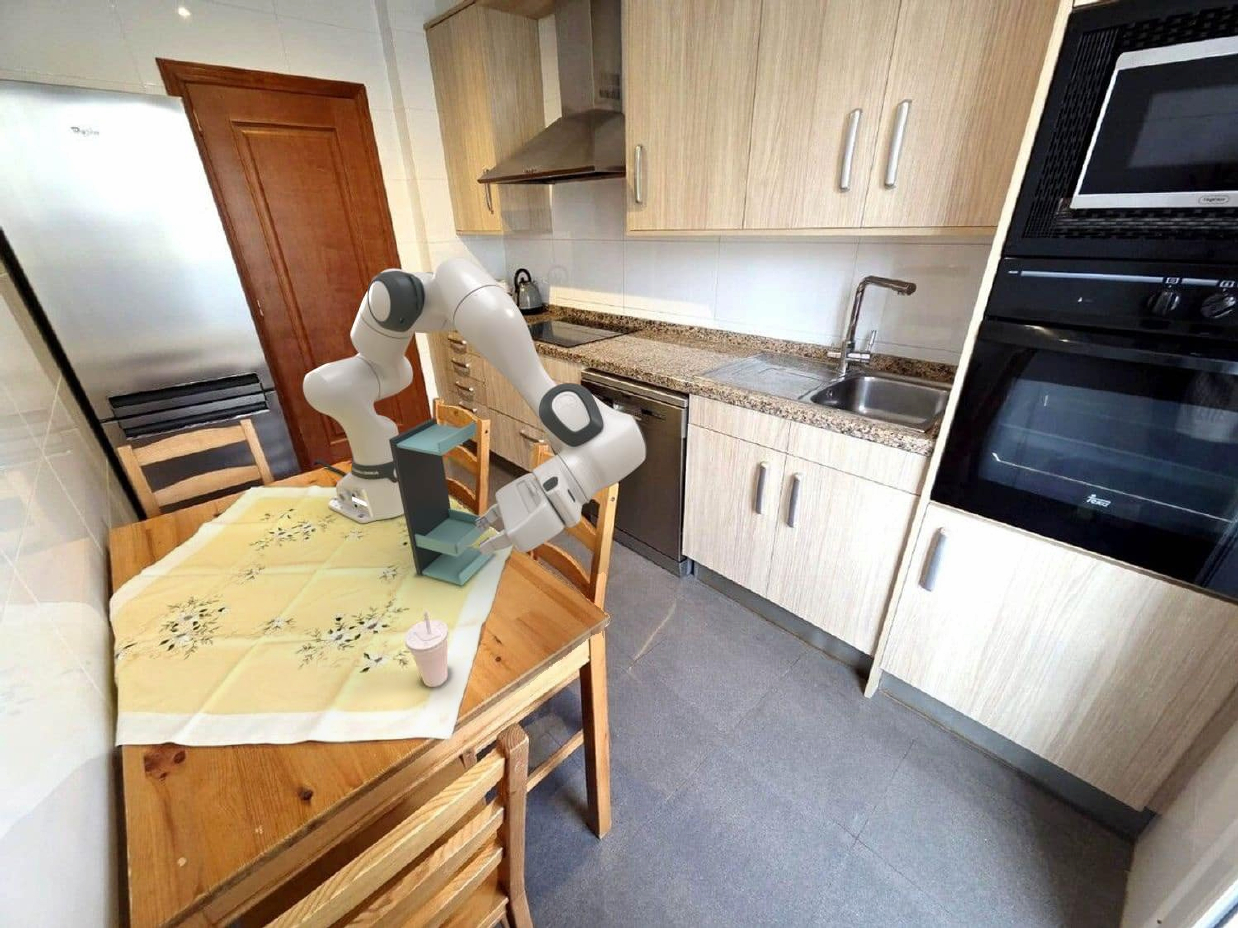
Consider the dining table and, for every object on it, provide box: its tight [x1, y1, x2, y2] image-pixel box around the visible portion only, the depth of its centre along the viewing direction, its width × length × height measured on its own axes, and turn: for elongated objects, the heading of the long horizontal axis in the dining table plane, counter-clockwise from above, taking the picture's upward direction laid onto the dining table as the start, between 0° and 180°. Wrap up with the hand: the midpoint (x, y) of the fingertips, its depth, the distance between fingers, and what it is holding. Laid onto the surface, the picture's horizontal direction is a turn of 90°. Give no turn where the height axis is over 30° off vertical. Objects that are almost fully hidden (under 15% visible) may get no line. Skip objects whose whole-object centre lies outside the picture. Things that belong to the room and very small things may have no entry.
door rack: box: [389, 417, 493, 587], centre depth 102 cm, size 11×12×32 cm
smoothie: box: [404, 610, 450, 688], centre depth 79 cm, size 6×6×14 cm
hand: (479, 538), depth 76 cm, fingers open, 8 cm apart
